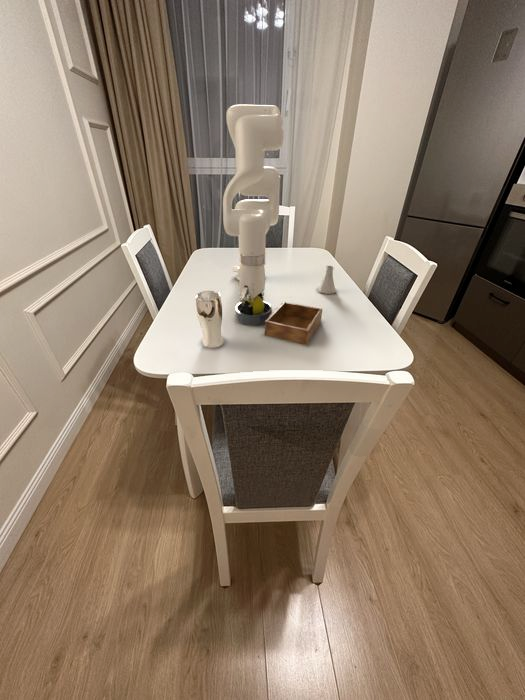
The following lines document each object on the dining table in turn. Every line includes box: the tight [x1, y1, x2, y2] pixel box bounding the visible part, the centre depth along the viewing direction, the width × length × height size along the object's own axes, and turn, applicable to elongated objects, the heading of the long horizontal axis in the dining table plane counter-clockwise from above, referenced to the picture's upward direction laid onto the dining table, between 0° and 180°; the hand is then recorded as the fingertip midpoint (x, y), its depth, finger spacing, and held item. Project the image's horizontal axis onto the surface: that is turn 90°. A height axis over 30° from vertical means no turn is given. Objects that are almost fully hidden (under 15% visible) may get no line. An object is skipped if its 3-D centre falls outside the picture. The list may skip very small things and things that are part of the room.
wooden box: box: [264, 301, 323, 346], centre depth 90 cm, size 14×16×5 cm
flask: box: [317, 265, 336, 295], centre depth 115 cm, size 7×7×10 cm
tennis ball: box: [246, 295, 264, 315], centre depth 95 cm, size 7×7×7 cm
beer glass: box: [195, 290, 224, 349], centre depth 80 cm, size 7×7×15 cm
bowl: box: [234, 300, 273, 327], centre depth 96 cm, size 12×12×4 cm
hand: (253, 311), depth 96 cm, fingers closed on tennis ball, 7 cm apart
